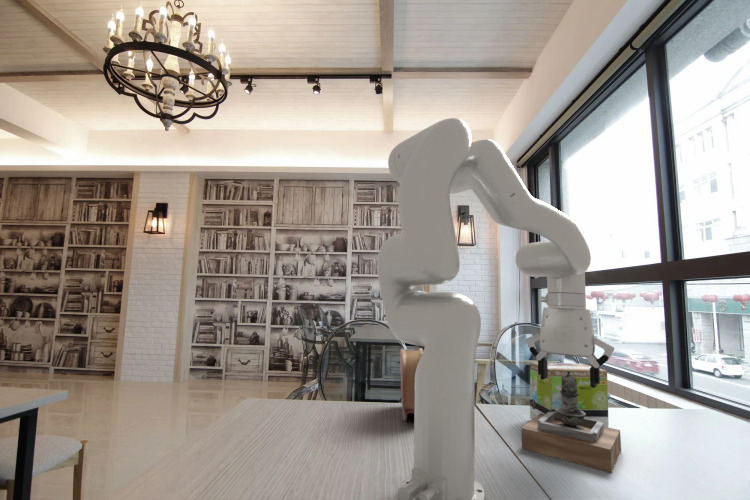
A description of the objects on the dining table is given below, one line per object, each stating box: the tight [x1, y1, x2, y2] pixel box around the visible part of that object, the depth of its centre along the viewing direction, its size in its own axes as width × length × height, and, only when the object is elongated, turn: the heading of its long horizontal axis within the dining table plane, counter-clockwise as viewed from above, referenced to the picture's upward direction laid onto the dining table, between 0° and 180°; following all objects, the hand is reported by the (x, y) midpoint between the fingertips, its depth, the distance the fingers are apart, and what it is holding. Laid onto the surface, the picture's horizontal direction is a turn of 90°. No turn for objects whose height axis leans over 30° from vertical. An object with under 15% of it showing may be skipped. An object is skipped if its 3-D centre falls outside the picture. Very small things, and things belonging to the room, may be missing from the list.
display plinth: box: [521, 411, 622, 474], centre depth 78 cm, size 14×16×6 cm
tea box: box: [529, 361, 609, 428], centre depth 94 cm, size 15×10×15 cm, turn 97°
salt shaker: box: [555, 371, 586, 431], centre depth 79 cm, size 6×6×12 cm
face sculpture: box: [399, 347, 424, 423], centre depth 99 cm, size 20×7×17 cm, turn 179°
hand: (567, 382), depth 79 cm, fingers open, 9 cm apart
